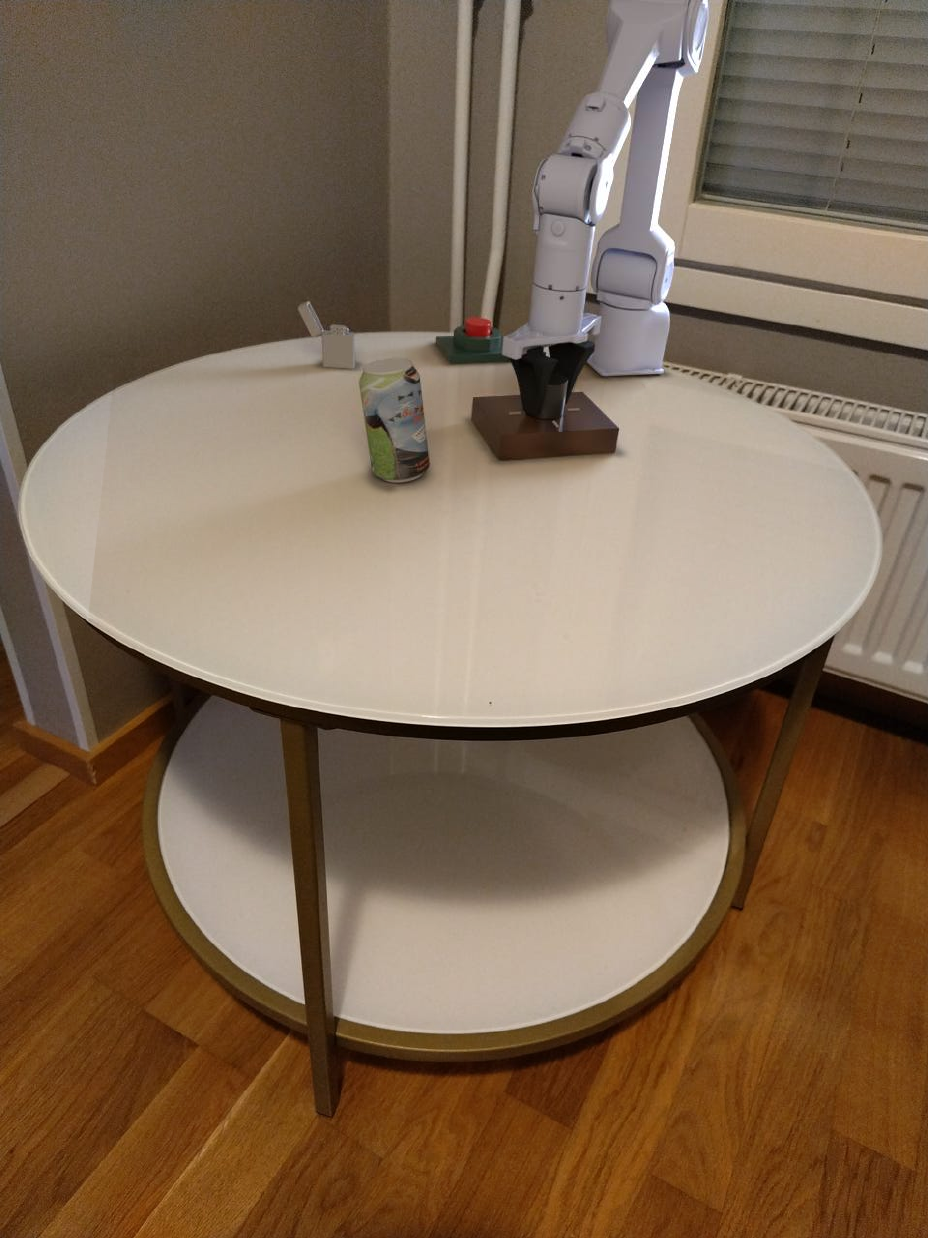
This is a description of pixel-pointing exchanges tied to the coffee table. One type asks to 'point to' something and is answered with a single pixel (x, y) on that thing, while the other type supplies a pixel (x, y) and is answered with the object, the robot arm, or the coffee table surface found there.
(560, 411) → the dial
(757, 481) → the coffee table surface
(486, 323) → the button
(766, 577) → the coffee table surface
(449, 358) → the button box
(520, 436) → the dial panel
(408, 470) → the beverage can
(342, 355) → the lighter
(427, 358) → the coffee table surface
